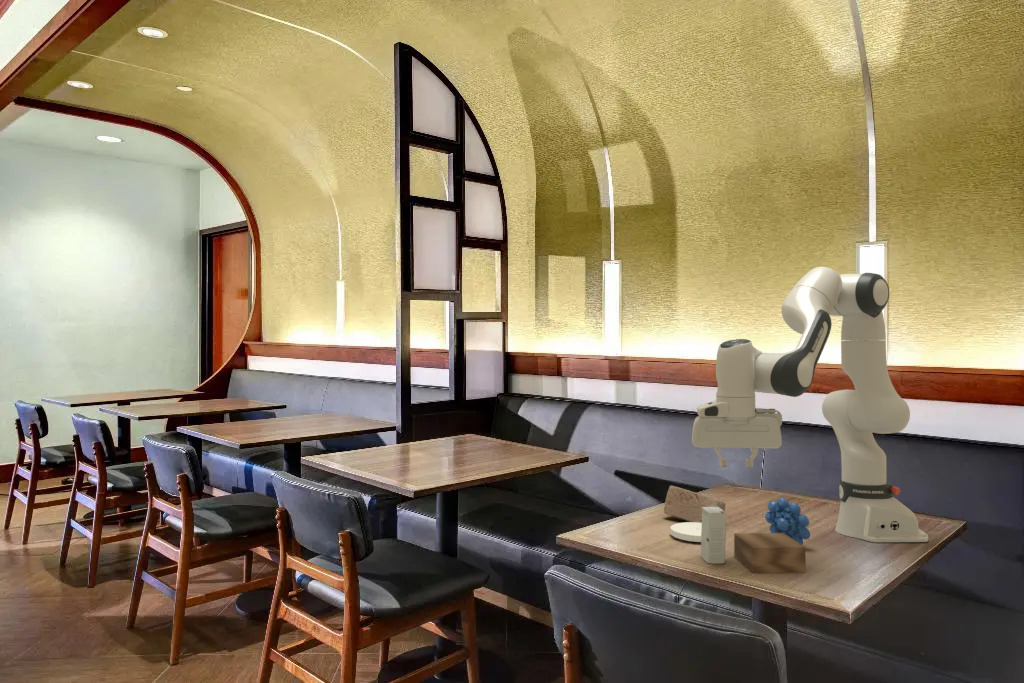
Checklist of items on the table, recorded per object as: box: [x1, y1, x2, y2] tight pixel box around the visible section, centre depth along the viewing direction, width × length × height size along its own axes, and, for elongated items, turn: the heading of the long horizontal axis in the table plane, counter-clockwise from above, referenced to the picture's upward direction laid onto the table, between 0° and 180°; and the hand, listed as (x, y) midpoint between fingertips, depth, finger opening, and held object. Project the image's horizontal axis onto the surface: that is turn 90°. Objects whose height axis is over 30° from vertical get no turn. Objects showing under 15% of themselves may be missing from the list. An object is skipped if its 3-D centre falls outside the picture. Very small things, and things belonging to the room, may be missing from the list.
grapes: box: [764, 497, 811, 546], centre depth 183 cm, size 12×7×12 cm, turn 46°
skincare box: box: [700, 507, 727, 565], centre depth 172 cm, size 6×4×12 cm
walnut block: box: [733, 532, 806, 574], centre depth 169 cm, size 12×12×6 cm
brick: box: [662, 485, 727, 523], centre depth 205 cm, size 17×8×5 cm
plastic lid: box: [669, 521, 702, 543], centre depth 192 cm, size 14×14×2 cm
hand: (736, 466), depth 171 cm, fingers open, 5 cm apart
